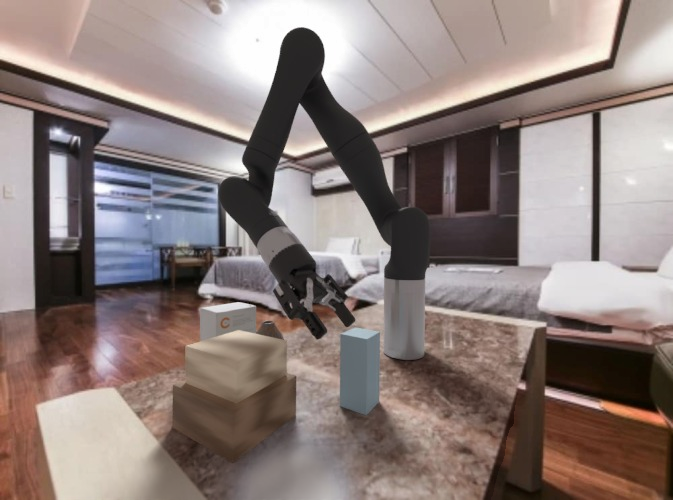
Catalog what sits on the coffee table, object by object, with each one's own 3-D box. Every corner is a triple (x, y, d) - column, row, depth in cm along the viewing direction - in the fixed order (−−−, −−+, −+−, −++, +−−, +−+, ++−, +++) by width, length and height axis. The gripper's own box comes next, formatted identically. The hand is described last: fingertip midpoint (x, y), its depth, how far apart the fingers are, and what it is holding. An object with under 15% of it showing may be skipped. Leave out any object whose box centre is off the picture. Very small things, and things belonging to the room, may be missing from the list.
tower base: (239, 394, 48) (239, 358, 48) (295, 417, 42) (296, 375, 42) (172, 429, 39) (172, 384, 39) (232, 465, 33) (232, 411, 33)
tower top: (238, 360, 47) (238, 329, 47) (286, 375, 42) (286, 340, 42) (185, 382, 39) (185, 345, 39) (236, 403, 34) (236, 361, 34)
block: (354, 393, 48) (354, 327, 48) (379, 401, 46) (380, 331, 46) (339, 406, 45) (340, 333, 44) (366, 415, 42) (367, 339, 42)
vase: (276, 372, 56) (277, 327, 56) (243, 369, 57) (244, 325, 57) (289, 359, 63) (290, 318, 63) (259, 356, 64) (260, 317, 64)
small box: (238, 365, 60) (239, 301, 60) (256, 374, 56) (257, 305, 55) (198, 378, 53) (199, 307, 53) (215, 389, 49) (216, 312, 49)
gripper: (268, 241, 46) (327, 325, 40) (321, 243, 58) (372, 308, 52) (245, 273, 49) (296, 355, 43) (300, 268, 61) (346, 333, 55)
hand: (338, 329), depth 47 cm, fingers open, 8 cm apart
